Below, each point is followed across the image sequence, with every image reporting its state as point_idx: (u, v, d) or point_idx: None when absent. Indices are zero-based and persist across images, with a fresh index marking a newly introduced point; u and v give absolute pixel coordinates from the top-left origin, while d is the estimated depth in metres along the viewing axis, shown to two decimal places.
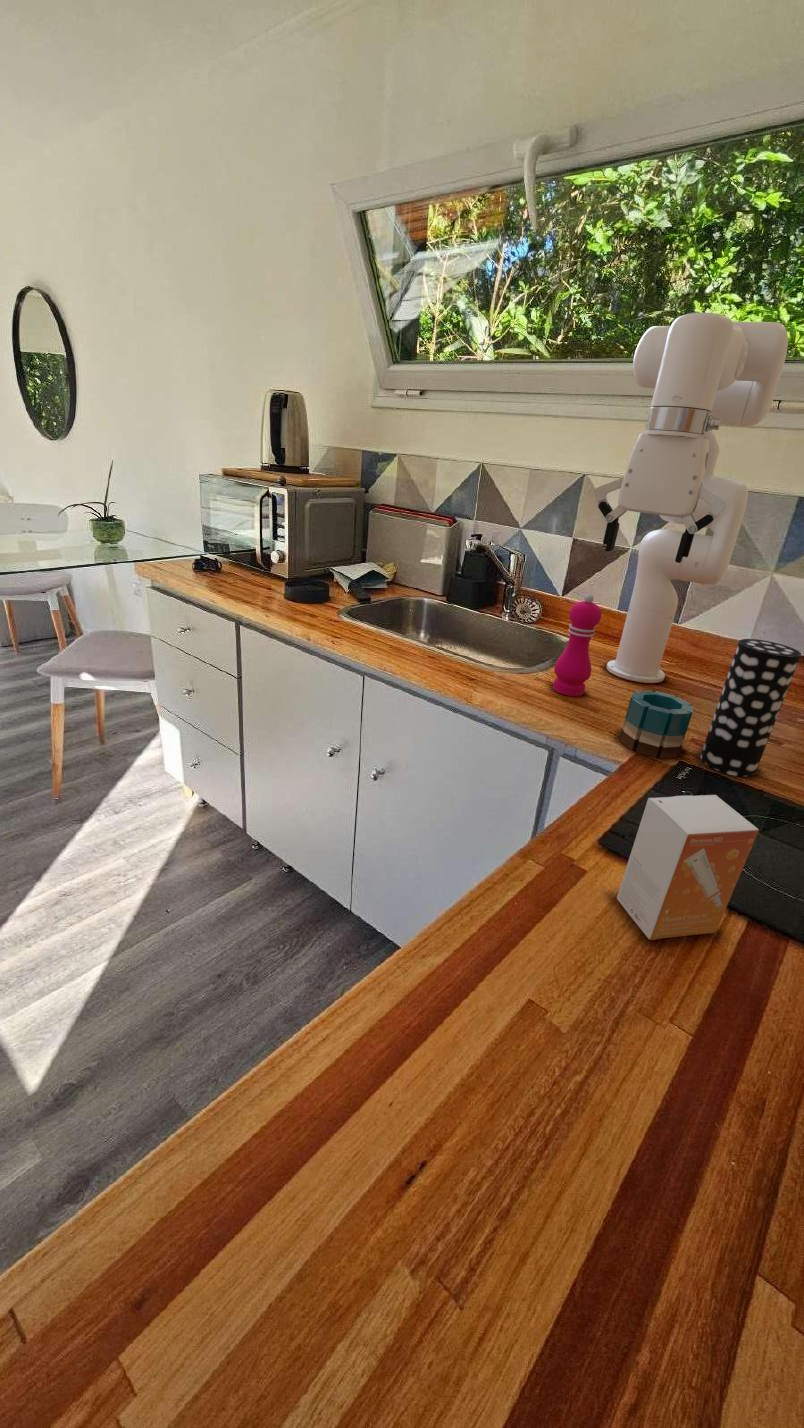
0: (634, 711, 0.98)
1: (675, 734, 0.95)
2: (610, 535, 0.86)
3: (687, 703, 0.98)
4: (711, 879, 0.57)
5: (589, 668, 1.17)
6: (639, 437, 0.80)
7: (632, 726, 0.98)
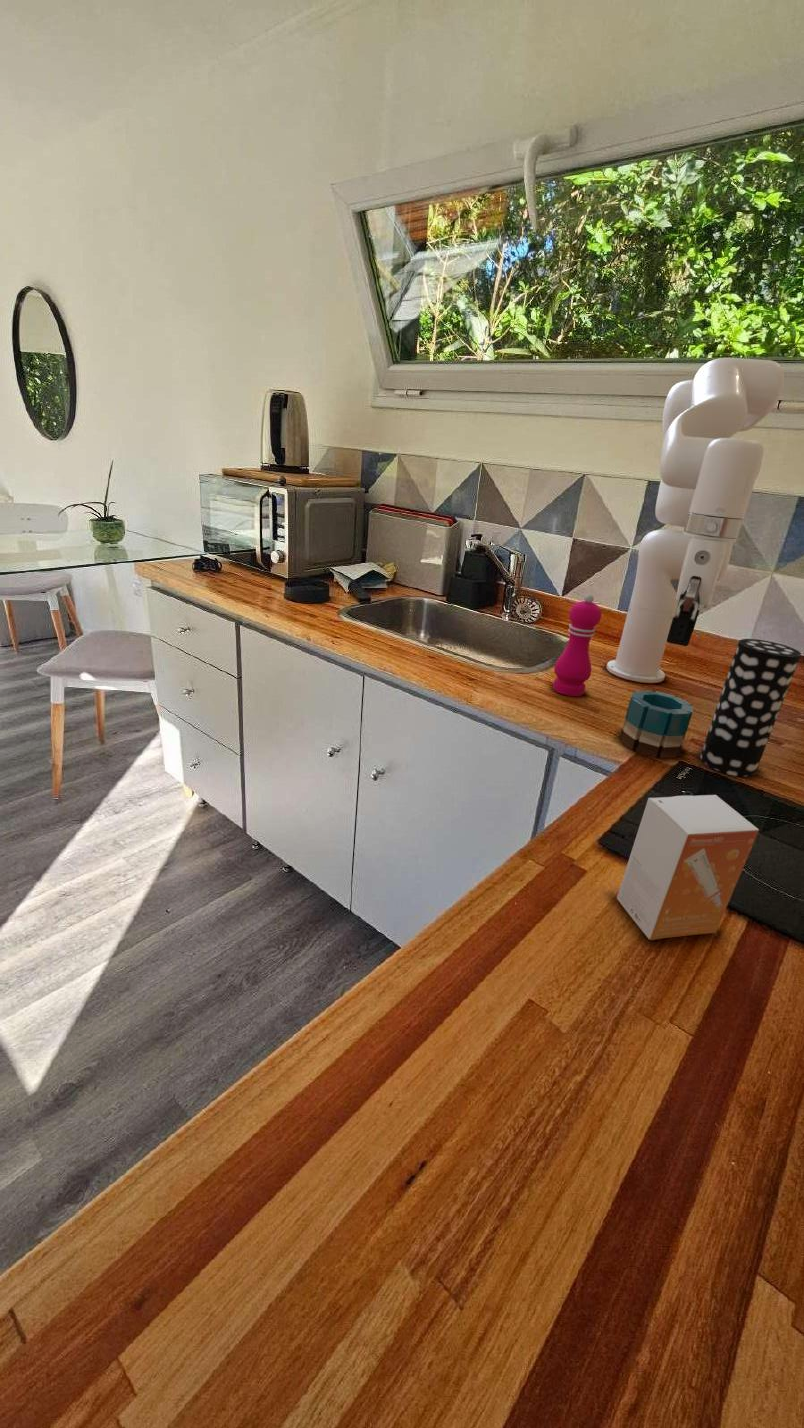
0: (634, 711, 0.98)
1: (675, 734, 0.95)
2: None
3: (687, 703, 0.98)
4: (711, 879, 0.57)
5: (589, 668, 1.17)
6: None
7: (632, 726, 0.98)
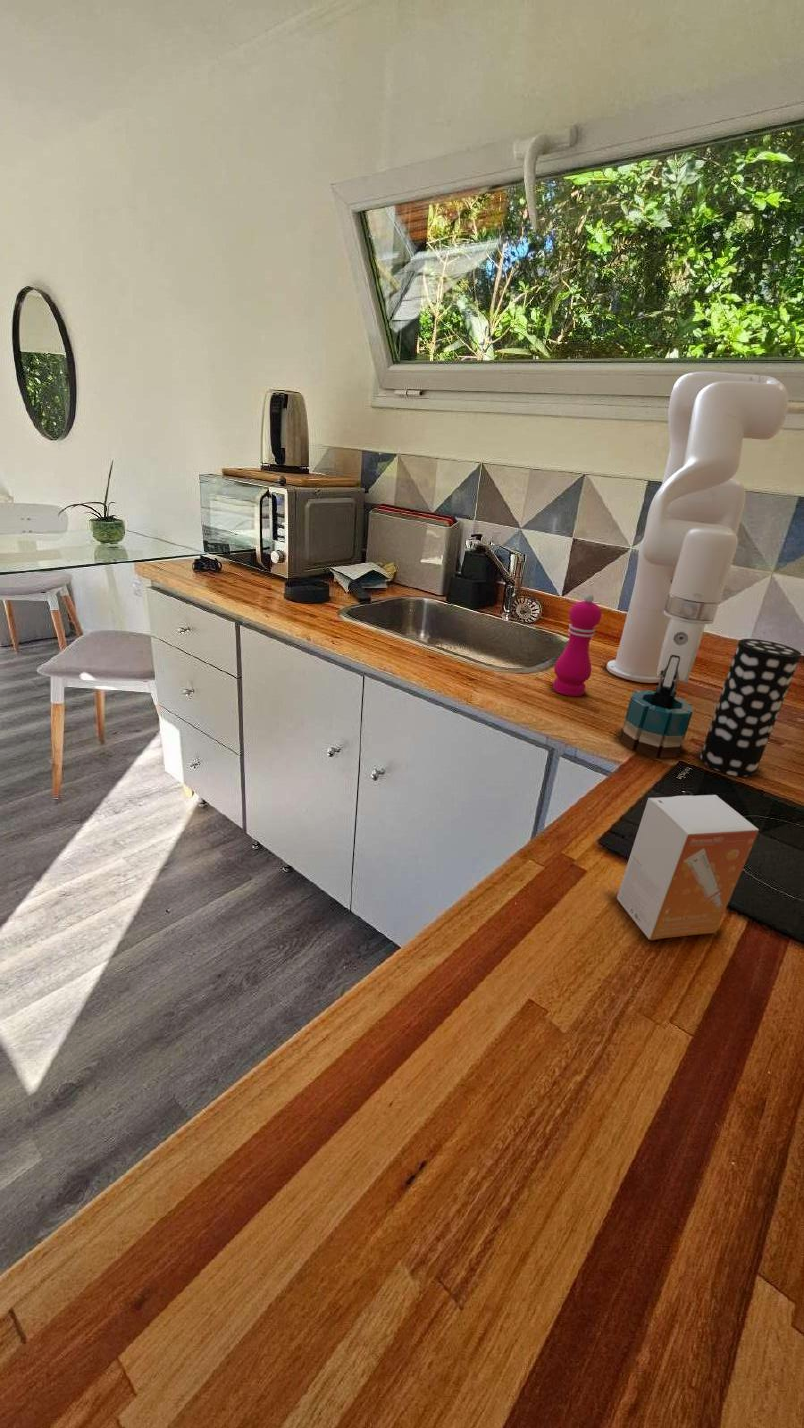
0: (634, 711, 0.98)
1: (675, 734, 0.96)
2: None
3: (687, 703, 0.99)
4: (711, 879, 0.57)
5: (589, 668, 1.17)
6: None
7: (632, 726, 0.98)
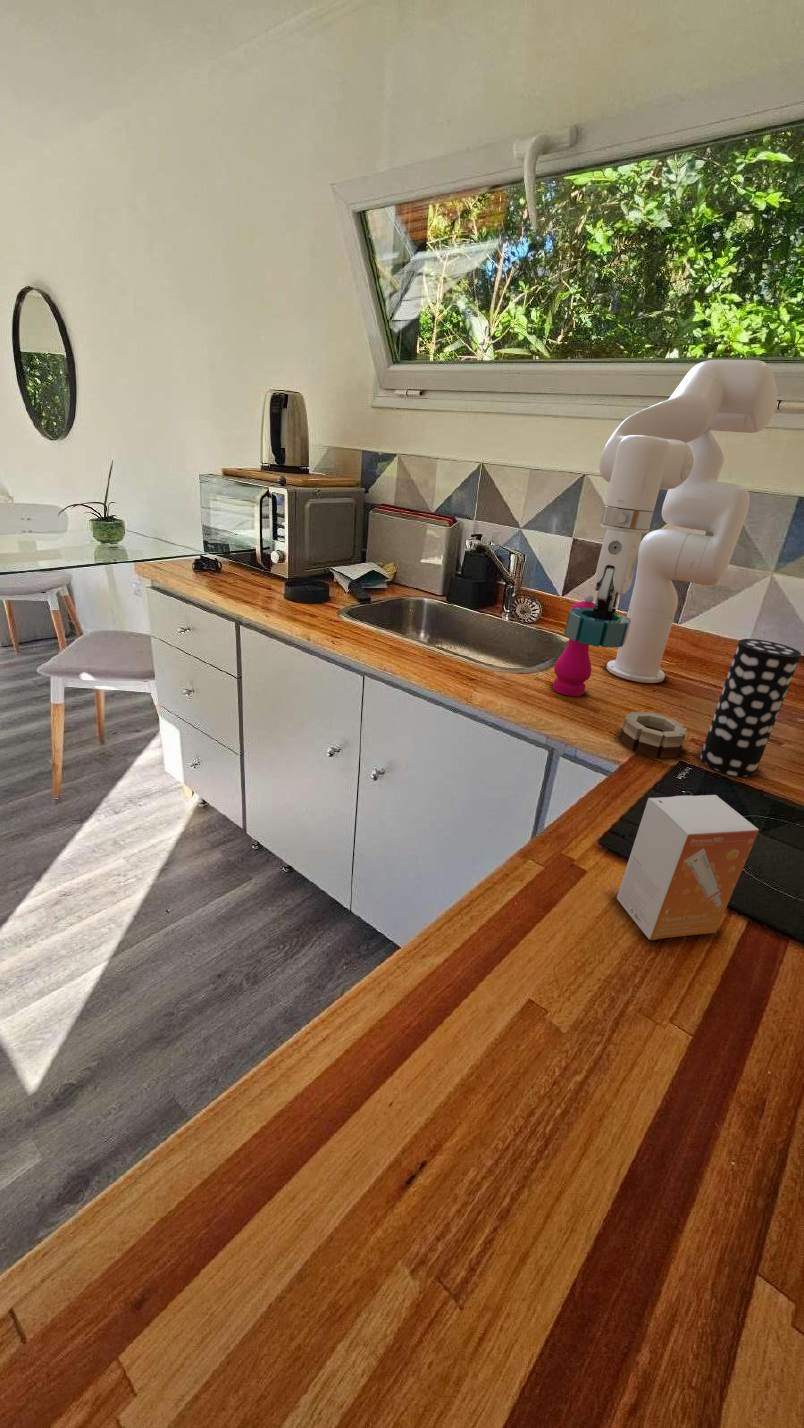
0: (571, 625, 0.98)
1: (611, 645, 0.96)
2: None
3: (625, 617, 0.99)
4: (711, 879, 0.57)
5: (589, 668, 1.17)
6: None
7: (632, 726, 0.98)
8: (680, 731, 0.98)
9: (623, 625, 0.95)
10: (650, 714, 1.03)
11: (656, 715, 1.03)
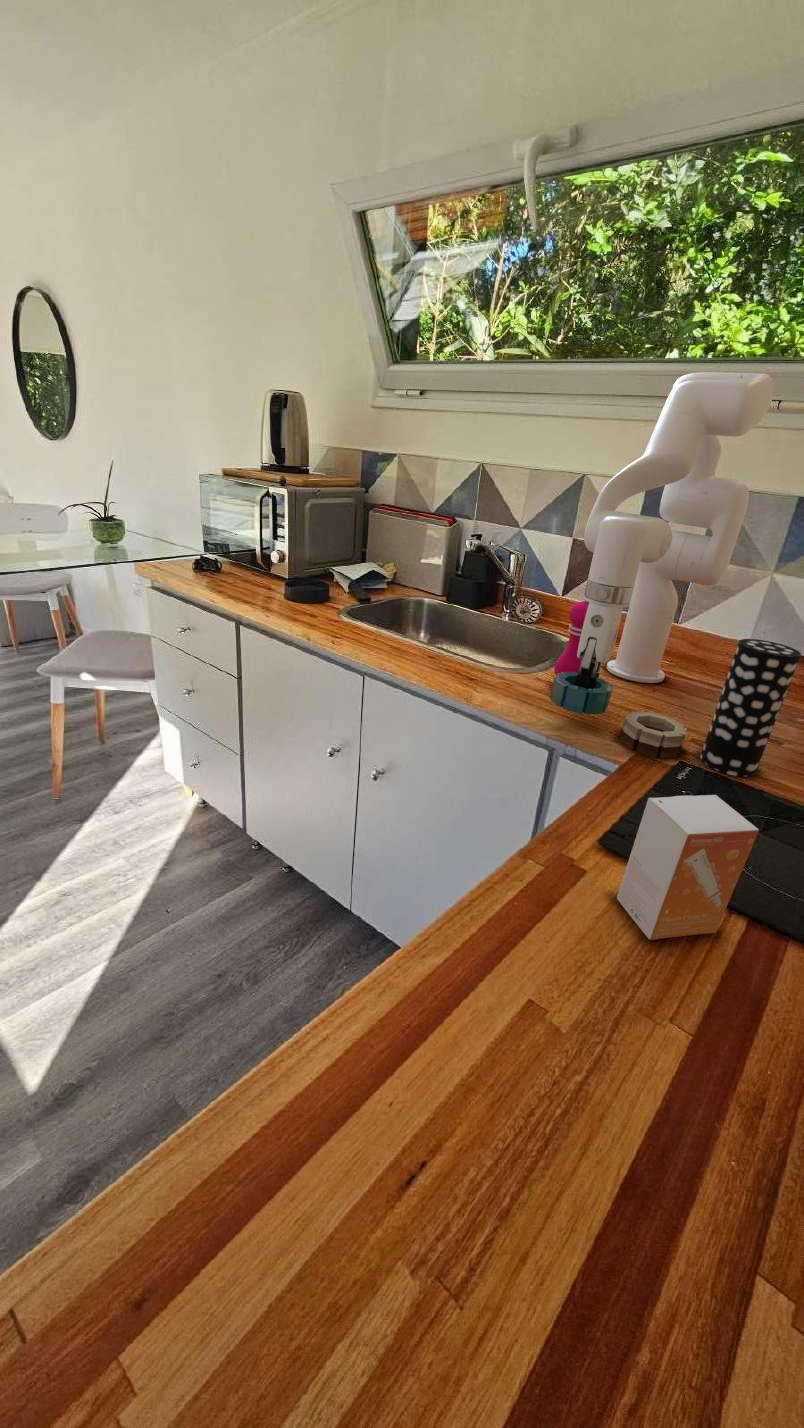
0: (556, 691, 1.03)
1: (593, 712, 1.01)
2: None
3: (607, 683, 1.04)
4: (711, 879, 0.57)
5: None
6: None
7: (632, 726, 0.98)
8: (680, 731, 0.98)
9: (605, 694, 1.00)
10: (650, 714, 1.03)
11: (656, 715, 1.03)
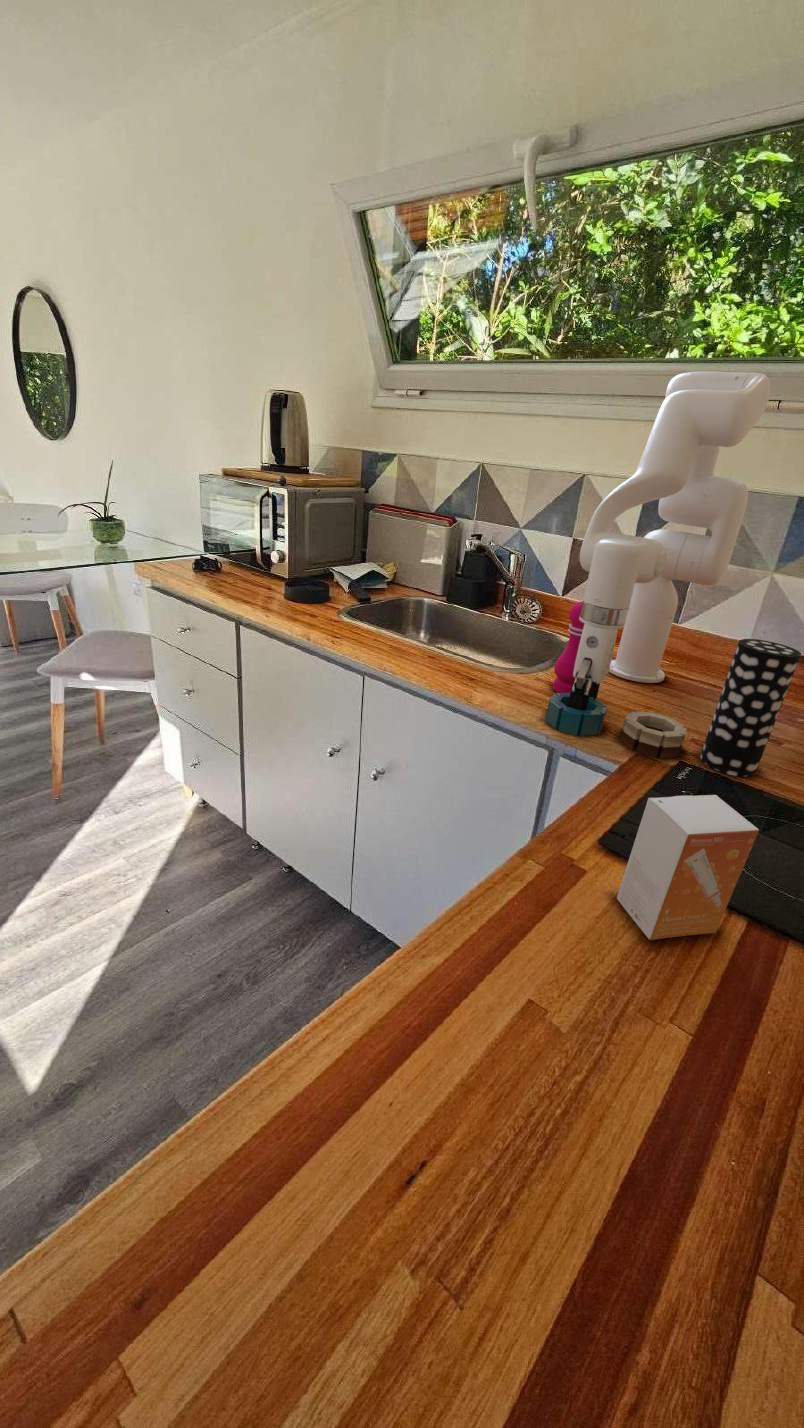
0: (552, 712, 1.04)
1: (588, 733, 1.02)
2: None
3: (602, 704, 1.05)
4: (711, 879, 0.57)
5: None
6: None
7: (632, 726, 0.98)
8: (680, 731, 0.98)
9: (599, 715, 1.01)
10: (650, 714, 1.03)
11: (656, 715, 1.03)
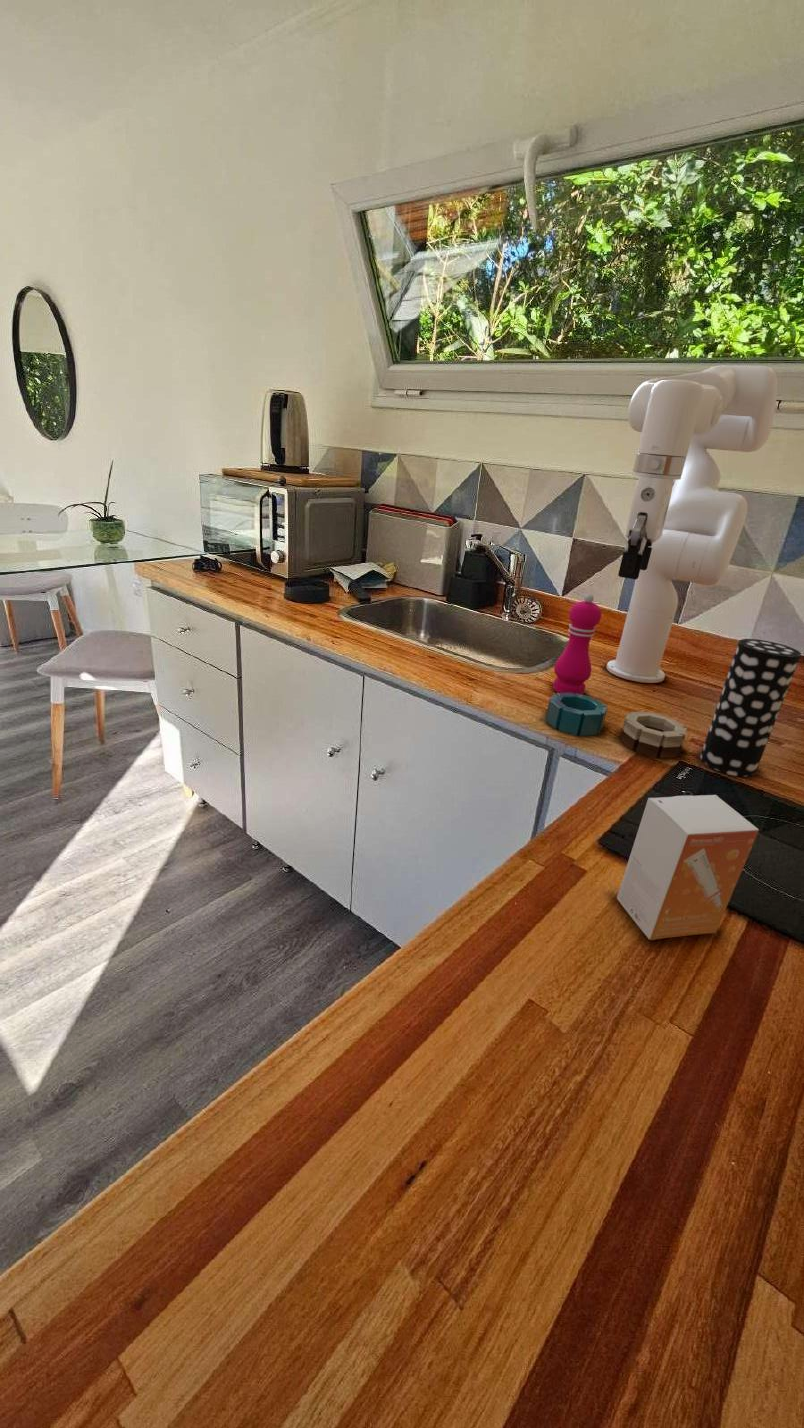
0: (552, 712, 1.04)
1: (588, 733, 1.02)
2: None
3: (602, 704, 1.05)
4: (711, 879, 0.57)
5: (589, 668, 1.17)
6: None
7: (632, 726, 0.98)
8: (680, 731, 0.98)
9: (599, 715, 1.01)
10: (650, 714, 1.03)
11: (656, 715, 1.03)
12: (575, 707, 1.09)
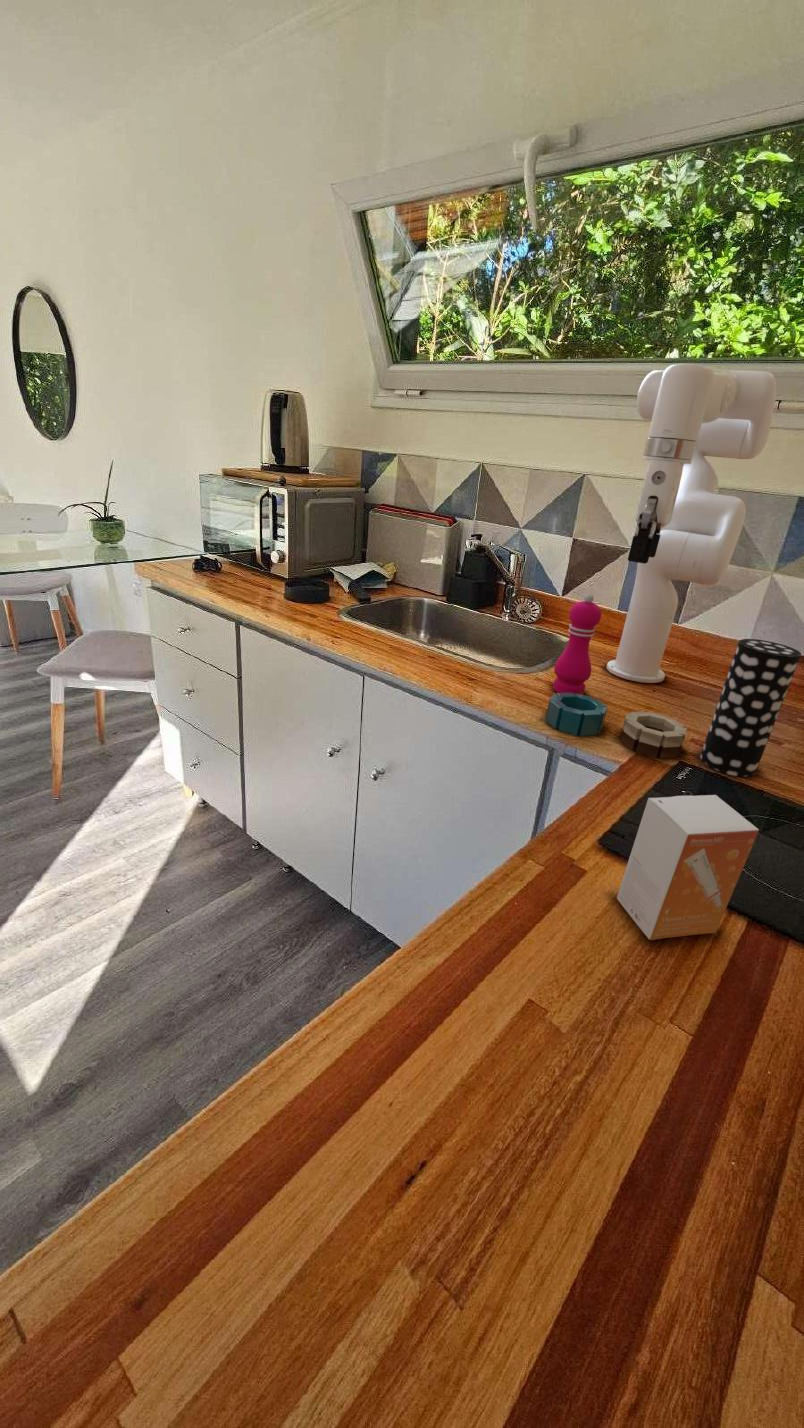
0: (552, 712, 1.04)
1: (588, 733, 1.02)
2: None
3: (602, 704, 1.05)
4: (711, 879, 0.57)
5: (589, 668, 1.17)
6: None
7: (632, 726, 0.98)
8: (680, 731, 0.98)
9: (599, 715, 1.01)
10: (650, 714, 1.03)
11: (656, 715, 1.03)
12: (575, 707, 1.09)
